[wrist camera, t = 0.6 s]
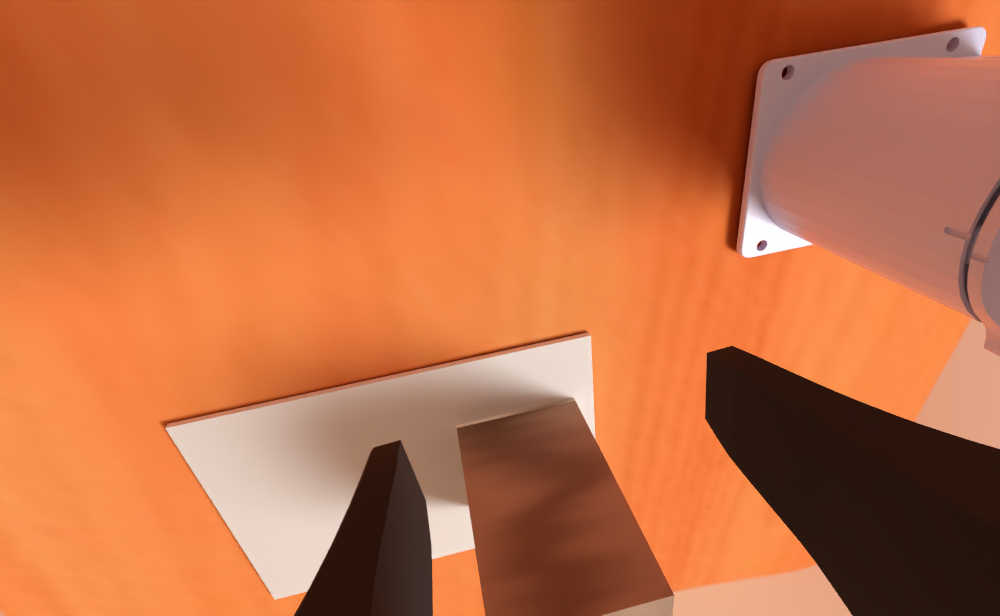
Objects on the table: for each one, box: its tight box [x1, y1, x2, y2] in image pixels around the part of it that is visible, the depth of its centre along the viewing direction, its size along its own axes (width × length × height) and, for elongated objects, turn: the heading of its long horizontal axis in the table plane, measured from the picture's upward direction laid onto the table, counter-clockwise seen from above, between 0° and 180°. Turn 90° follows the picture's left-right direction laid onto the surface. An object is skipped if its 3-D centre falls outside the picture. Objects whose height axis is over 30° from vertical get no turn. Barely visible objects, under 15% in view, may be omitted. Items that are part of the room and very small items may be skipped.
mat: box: [165, 332, 595, 599], centre depth 25 cm, size 19×13×1 cm
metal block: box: [456, 398, 674, 616], centre depth 21 cm, size 6×6×10 cm
